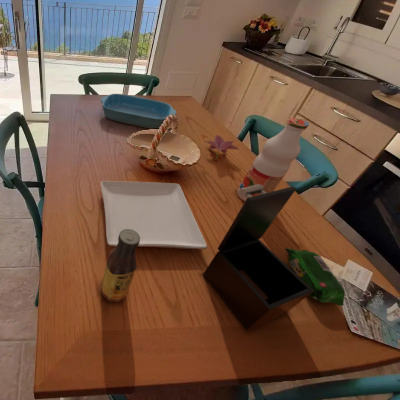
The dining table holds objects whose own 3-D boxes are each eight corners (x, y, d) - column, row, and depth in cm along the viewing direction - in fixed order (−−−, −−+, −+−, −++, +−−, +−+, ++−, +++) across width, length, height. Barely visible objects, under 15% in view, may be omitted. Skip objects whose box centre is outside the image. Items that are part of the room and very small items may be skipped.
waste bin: (287, 312, 62) (314, 290, 56) (246, 330, 59) (269, 309, 52) (240, 261, 72) (258, 238, 66) (202, 274, 69) (217, 251, 62)
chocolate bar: (263, 303, 63) (269, 298, 61) (250, 308, 61) (256, 303, 60) (237, 274, 68) (242, 269, 66) (225, 279, 67) (229, 274, 65)
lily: (237, 164, 110) (244, 140, 108) (225, 161, 102) (232, 136, 100) (208, 159, 119) (215, 137, 116) (195, 156, 111) (202, 133, 109)
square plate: (106, 253, 72) (107, 244, 69) (99, 188, 92) (100, 179, 90) (204, 255, 73) (209, 246, 70) (176, 190, 93) (179, 182, 91)
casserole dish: (173, 116, 139) (178, 102, 134) (170, 135, 123) (174, 121, 118) (105, 103, 146) (107, 90, 142) (93, 120, 130) (95, 106, 126)
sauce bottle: (112, 309, 61) (127, 256, 47) (95, 288, 64) (104, 234, 51) (132, 293, 64) (152, 240, 50) (115, 274, 67) (129, 220, 54)
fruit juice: (266, 209, 88) (321, 132, 70) (235, 200, 91) (281, 124, 72) (264, 193, 95) (315, 118, 76) (236, 185, 98) (278, 111, 79)
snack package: (303, 255, 75) (315, 243, 71) (340, 309, 63) (356, 298, 60) (277, 253, 75) (288, 241, 72) (310, 307, 63) (324, 296, 60)
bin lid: (296, 188, 55) (274, 173, 59) (250, 200, 51) (229, 184, 55) (260, 238, 65) (243, 223, 69) (219, 251, 61) (203, 234, 65)
